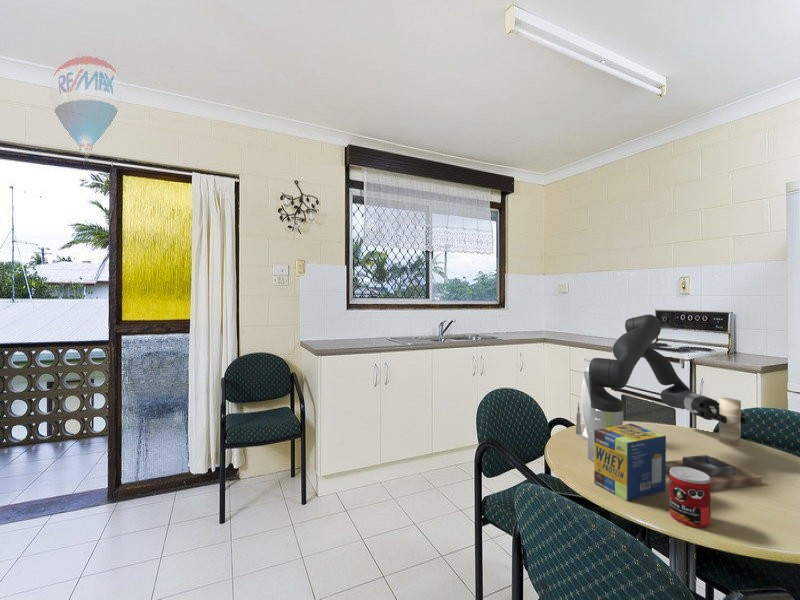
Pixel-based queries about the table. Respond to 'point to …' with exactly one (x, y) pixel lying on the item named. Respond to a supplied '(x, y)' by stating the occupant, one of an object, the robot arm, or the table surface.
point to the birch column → (730, 422)
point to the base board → (717, 471)
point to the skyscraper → (584, 407)
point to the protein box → (630, 461)
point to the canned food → (689, 496)
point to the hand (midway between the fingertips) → (735, 420)
